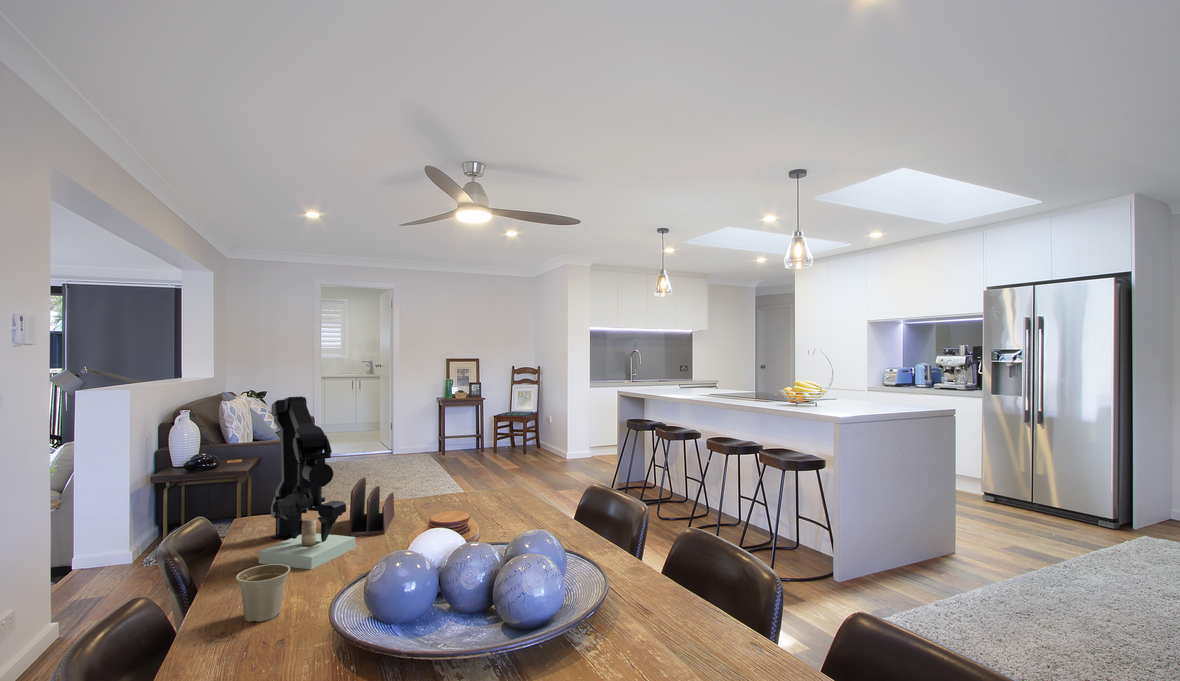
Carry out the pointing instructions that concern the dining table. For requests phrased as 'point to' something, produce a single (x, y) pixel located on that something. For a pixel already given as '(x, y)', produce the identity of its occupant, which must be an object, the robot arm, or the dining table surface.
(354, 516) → the letter holder
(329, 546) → the board
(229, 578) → the dining table surface
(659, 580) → the dining table surface
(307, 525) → the peg
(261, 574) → the flower pot
